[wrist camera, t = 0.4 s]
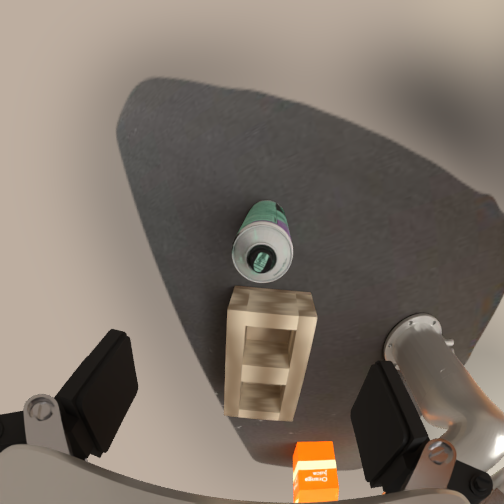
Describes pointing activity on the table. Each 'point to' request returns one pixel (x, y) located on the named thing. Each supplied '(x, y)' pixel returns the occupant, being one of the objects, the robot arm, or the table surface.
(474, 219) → the table surface
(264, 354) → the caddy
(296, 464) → the orange juice
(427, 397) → the robot arm
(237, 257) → the spray can
